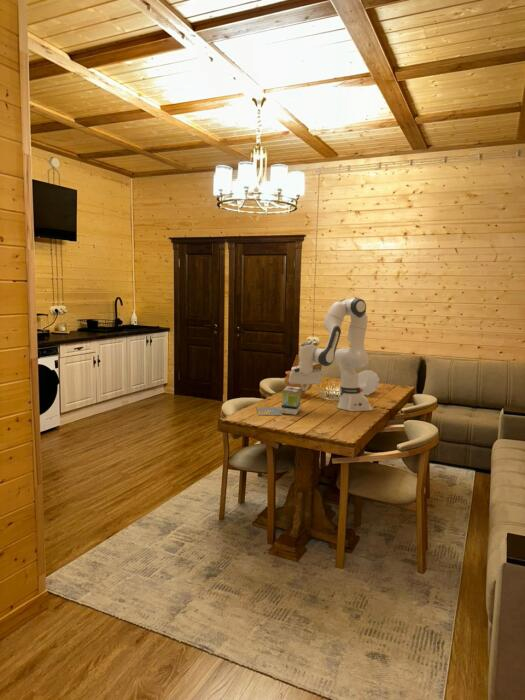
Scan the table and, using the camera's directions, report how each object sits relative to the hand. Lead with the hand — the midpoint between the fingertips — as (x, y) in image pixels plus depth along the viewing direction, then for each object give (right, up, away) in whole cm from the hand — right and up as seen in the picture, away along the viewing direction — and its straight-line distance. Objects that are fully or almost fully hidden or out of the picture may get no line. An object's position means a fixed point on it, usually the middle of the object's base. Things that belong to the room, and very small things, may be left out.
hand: (304, 390), depth 300 cm
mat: (-22, -13, 0) cm, 26 cm away
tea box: (-9, -13, +1) cm, 16 cm away
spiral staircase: (+52, -8, +63) cm, 82 cm away
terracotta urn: (0, -8, +48) cm, 49 cm away
